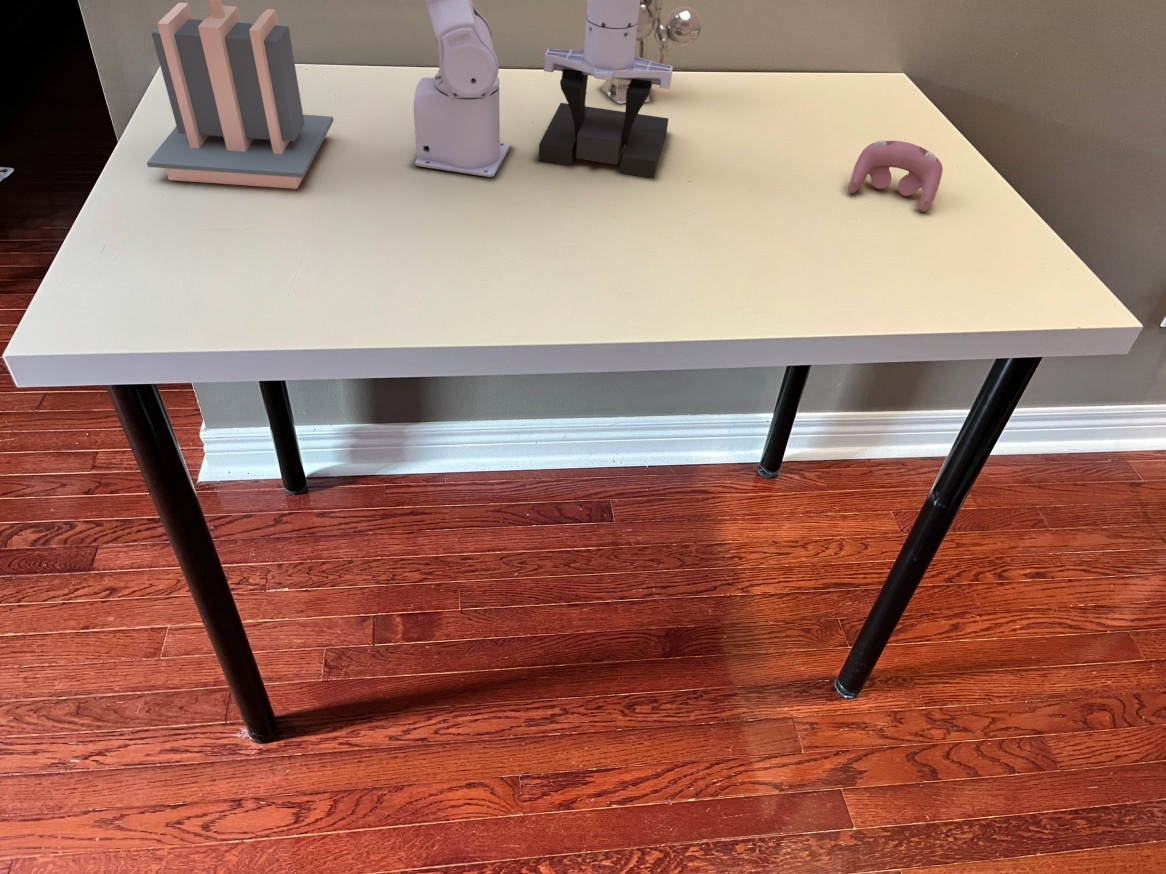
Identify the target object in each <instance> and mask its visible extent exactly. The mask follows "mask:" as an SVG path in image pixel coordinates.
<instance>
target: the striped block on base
mask: <svg viewBox="0 0 1166 874" xmlns="http://www.w3.org/2000/svg"><path fill="white" fill-rule="evenodd" d="M207 3H208V7H209V14H208V15H207V16H205V19H195V18H193V15H192V11H191V7H190V3H189V2H179V1H178V3H177V4H176V5H175V6H173V8H171V10H169V12H167V13H166V14H165V15H164V16H163V17H162V18H161V19H160V20H159V21H158V22H157V26H156V27H155V28H154V29H153V30H152V31H151V37H152V41H153V44H154V48H155V51H156V55H157V58H158V63H159V66H160V70H161V72H162V73H161V74H162V76H163V81H164V84H165V89H166V92H167V96H168V100H169V104H170V107H171V110H172V114H173V119H174V122H175V127H174V129H172V131H171V132H170V134H169V135H168V136H167V137H166V138H165V139H164V141H163V142H162V143H161V144H160V146H159V147H158V148H157V149H156V151H155V152H154V153H153V154H152V156H151V157H150V158H149V160H148V161H147V162H146V164H147V168H158V169H165V171H166V175H167V178H168V181H178V182H192V183H193V182H194V183H208V184H223V185H237V186H249V187H251V186H252V187H264V188H278V189H279V188H280V189H294V190H297V189H298V188H299V187H300V185H301V182H302V181H303V179H304V178H305V176H306V174H307V173H308V170H309V169H310V166H311V165H312V163H313V161H314V159H315V157H316V155H317V153H318V151H319V150H320V147H321V146H322V144H323V142H324V140H325V138H326V136H327V134H328V132H329V130H330V128H331V127H332V125H333V123H334V116H330V115H329V116H328V115H315V114H304V113H303V106H302V105H303V104H302V100H301V95H300V88H299V82H298V75H297V70H296V65H295V64H296V63H295V58H294V57H295V56H294V53H293V45H292V40H291V39H292V38H291V34H290V28H289V26H288V25H279V22H278V16H277V10H276V9H273V8H265V10H264V11H263V12H262V14H260V16H259V17H258V19H256V20H255V22H254V23H248V22H241V16H240V12H239V6H232V5H224V4H223V0H207Z"/></svg>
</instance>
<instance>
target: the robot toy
mask: <svg viewBox="0 0 1166 874" xmlns="http://www.w3.org/2000/svg"><path fill="white" fill-rule="evenodd" d="M662 7H663V0H640V7H639V17H638V26H637V36H636V43H638V57H640V58H643V59H646V60H648V58H647V46H648V43H647V42H648V40H647V39H648V38H649V36H650V35H651V33H652V32H653V30H654V34H653V35H654V36H653V37H654V40H655V42H656V43H657V46H659V47H658V51H659V52H660V58H659V63H660V64H665V65H667V62H668V59H669V56H670V54H669V53H670V50H669V48H668V42H669V41H670V42H671V43H673V45H676V46H679V47H680V46H681V47H684V46H688V45H690V44H692V43H694V42H695V41H696V40H697V39H698V37H699V36H700V33H701V30H702V21H701V17H700V15H699V13H698V12H697V11H696V10H695V9H693V8H692V7H690V6H686V5H684V6H678V7H676V8H674V9H673V10H671V11H670V13H669V14H668V16H667V18H666V20H665V24H663V23H662V17H661V13H662ZM630 82H631V81H625V80H618V79H611V80H604V83H603V87H602V89H601V90H602V91H603V92H604V93H605V94H606V95H607V96H608V97H610V99H612V100H613V101H614V102H616V103H617V104H619V105H622V104H626V91H627V89H628V86H629V85H630ZM650 101H651V99H650V96H649V95H648V97H647V99H646V101H645V102H644V103H650Z"/></svg>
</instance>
